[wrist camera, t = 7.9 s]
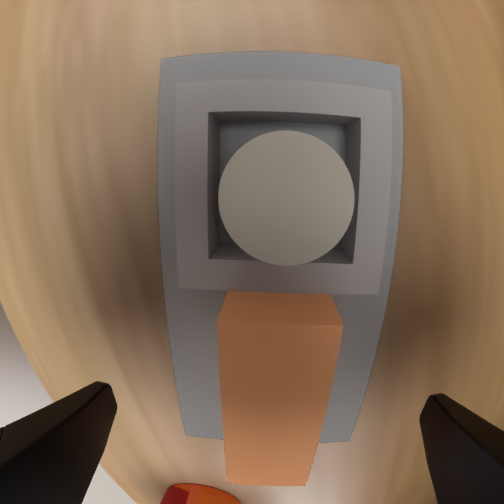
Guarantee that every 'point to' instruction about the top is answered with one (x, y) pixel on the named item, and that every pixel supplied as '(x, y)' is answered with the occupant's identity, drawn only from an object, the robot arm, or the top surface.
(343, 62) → the keeper
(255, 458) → the square frame with handle
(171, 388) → the top surface
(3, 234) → the top surface
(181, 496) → the coffee cup
